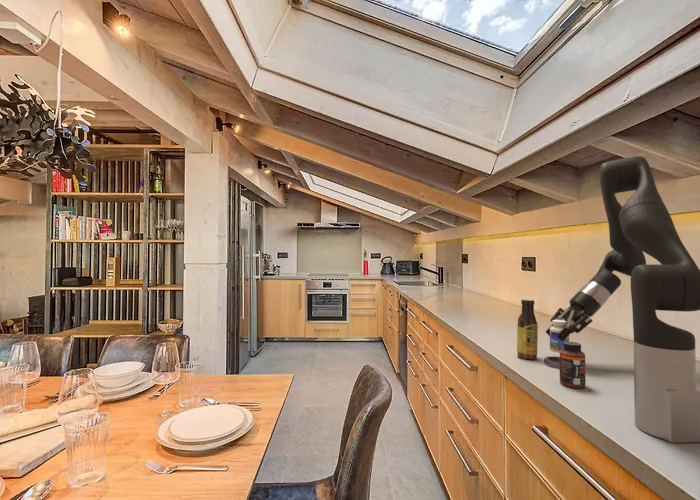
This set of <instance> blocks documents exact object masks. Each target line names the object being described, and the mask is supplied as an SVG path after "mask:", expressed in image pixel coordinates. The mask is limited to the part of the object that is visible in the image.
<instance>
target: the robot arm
mask: <svg viewBox="0 0 700 500" xmlns="http://www.w3.org/2000/svg"><path fill="white" fill-rule="evenodd" d="M598 172H599V175H598V176H599V177H598V179H599V184H600V186H599V187H600V191H601V195H602V200H603V201H602V202H603V205H604V211H605V214H606V219H607V223H608V231H609V234H608V235H609V243H610V247H611V248H612V250H611V251H608V252H607V253H606V255H605V256H604V259H603V261H602V264H601V265H600V267H599V269H598V270H597V273H596V274H595V275H594V276H592V278H591V279H590V280H589V281H588V282H587V283H586V284H584V286H582V287H581V288H580V289H579V291H577V293H575V294H574V295H573V296H572V298H570V300H569V306H568V307H567V308H565V309H563V308H562V307H560V308H558V309H557V311H556V312H555V313H554V315H552V317H551V318H550V322H551V323H552V320H564V321H566V322H567V325H566V328H564V329H563V330H562V331H561V332H560V333H559V334H558V335H557V337H558V338H559V339H560V340H561V341H564V340H565V339H566V338H567V337H568V336H569V337H570V335H571V334H574V333H575V334H578V333H581V332H582V331H583V330H585V328H586V327H588V326H589V325H590V324H591V323H593V319H592V317H593V316H594V315H595V314H596V313H597V312H598V311H599V310H600V309H601V308H602V307H603V306H604V304H605V303H607V301H608V300H609V298H610V297H611V296H612V295H613V294H614V293H615V292H616V291H617V290H618V288H619V287H621V285H622V280H621V278H620V277H619V276H618V275H616V274H615V273H613V272H618V273H621V274H623V275H626V276H627V277H630V295H631V305H632V306H631V307H632V330H633V383H634V384H633V385H634V386H633V387H634V388H633V391H634V392H633V393H634V394H633V395H634V397H633V399H634V424H635V427H636V428H638V429H639V430H640V431H643V433H647V434H649V435H650V436H655V437H656V438H660V439H663V440H665V441H667V442H669V443H700V390H699V389H697V377H696V375H697V374H696V372H697V369H696V362H697V361H696V337H695V335H694V333H692V332H690V331H688V330H686V329H683V328H679V327H677V326H674V325H671V324H669V323H666V322H665V321H662V320H661V319H659V318H658V316H657V311H665V312H666V311H667V312H669V311H670V312H697V311H700V268H699V267H698V265H697V263H696V262H695V261H694V259H693V257H692V256H691V254H690V253H689V251H688V250H687V248H686V246H685V245H684V243H683V242H682V240H681V238H680V236H679V235H680V234H679V233H678V231H677V228H676V226H675V224H674V222H673V219H672V217H671V215H670V213H669V210H668V209H667V206H666V205H665V203H664V201H663V199H662V197H661V195H660V192H659V190H658V188H657V185H656V182H655V180H654V176H653V175H654V174H653V172H652V169H651V167H650V164H649V162H648V159H646V158H645V157H644V156H642V155H641V156H638V155H637V156H636V155H635V156H630V157H625V158H619V159H615V160H610V161H607V162H603V163H602V164H601V165H600V167H599V171H598ZM631 191H635V192H633V194H632V195H631V196H630V197H629V198H628V199H627V200H626V202H624V204H623V205H621V203H620V202H619V201H618V199H617V196H616V194H620V193H627V192H631ZM645 254H647V255H648V256H650V257H652V258H653V259H655V260H656V261H658V262H659V263H660V264H654V263H653V264H647V260H646V256H645ZM552 326H553V325H552V324H551V325H550V326H549V327H548V329H546V331H545V333H546V334H547V335H548V337H550V327H552Z"/></svg>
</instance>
